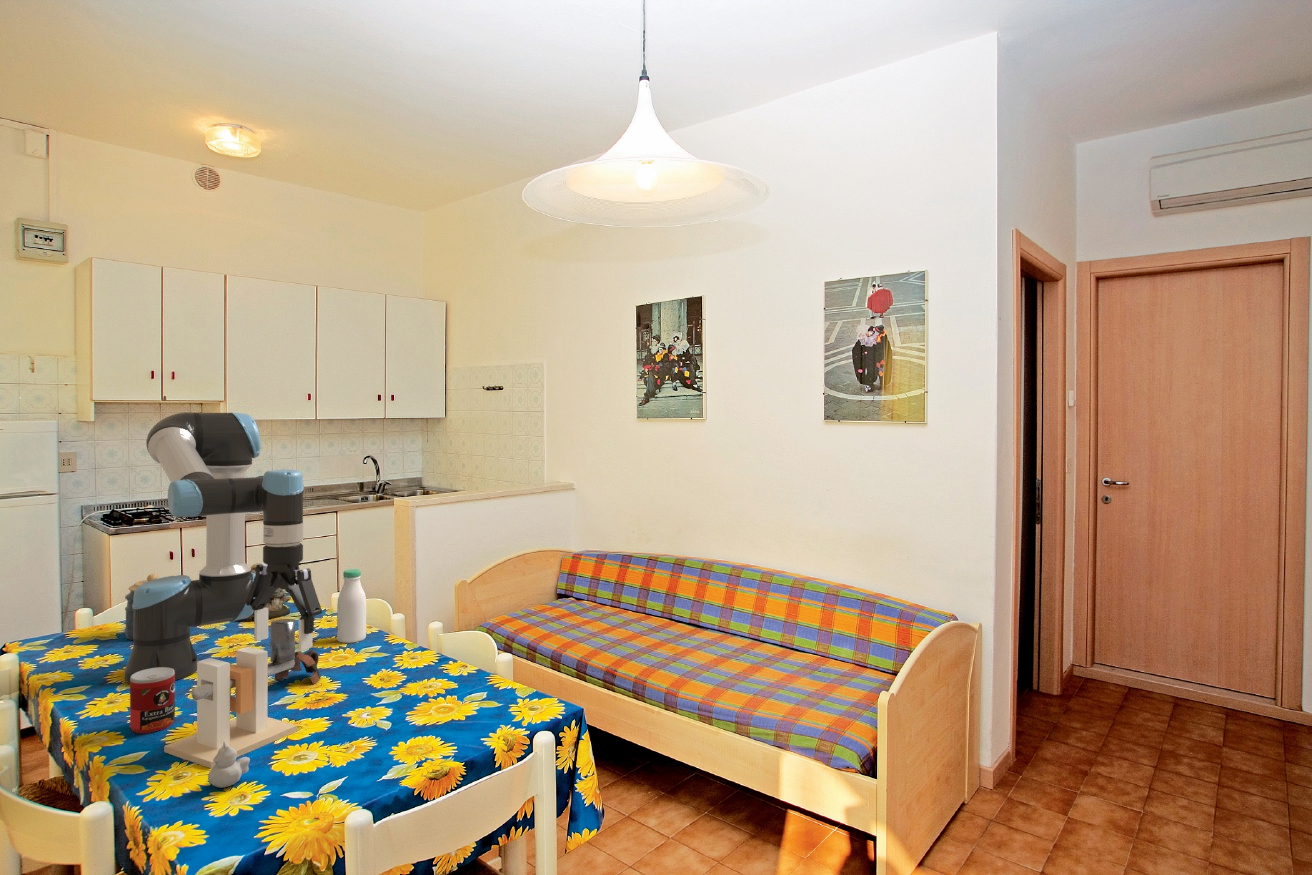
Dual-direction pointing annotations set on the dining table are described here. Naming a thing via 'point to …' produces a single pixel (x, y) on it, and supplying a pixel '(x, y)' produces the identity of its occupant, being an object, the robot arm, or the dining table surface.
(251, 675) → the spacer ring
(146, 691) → the canned food
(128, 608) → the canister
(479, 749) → the dining table surface
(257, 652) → the wooden twin post stand
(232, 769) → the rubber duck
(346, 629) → the milk bottle
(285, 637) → the shaft
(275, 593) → the owl figurine
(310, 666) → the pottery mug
